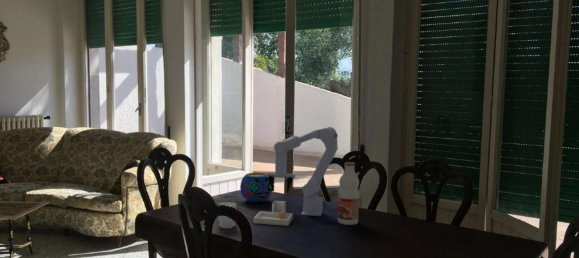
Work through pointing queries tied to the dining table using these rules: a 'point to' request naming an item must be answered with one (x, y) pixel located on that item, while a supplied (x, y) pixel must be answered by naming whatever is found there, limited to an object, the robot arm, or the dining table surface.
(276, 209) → the silver open box
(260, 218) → the tray
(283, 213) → the ball
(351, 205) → the fruit juice
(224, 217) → the white cup
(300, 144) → the robot arm
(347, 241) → the dining table surface
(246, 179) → the ceramic pot
